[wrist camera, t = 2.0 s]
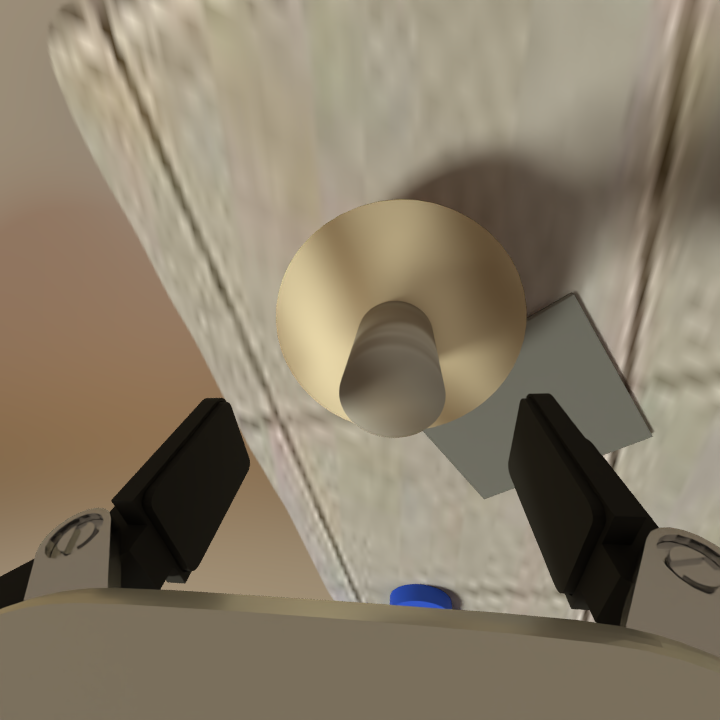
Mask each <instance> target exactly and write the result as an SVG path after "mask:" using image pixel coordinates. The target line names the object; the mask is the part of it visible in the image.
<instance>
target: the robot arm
mask: <svg viewBox="0 0 720 720" xmlns="http://www.w3.org/2000/svg"><path fill="white" fill-rule="evenodd" d="M249 466H250V460H249V456H248V453H247V451H246V448H245V445H244V442H243V439H242V436H241V433H240V430H239V427H238V424H237V421H236V419H235V416H234V413H233V410H232V407H231V405H230V403H228V402H226V400H225V399H223V398H206V399H204V400H203V401H202V402H201V403H200V404H199V405H198V406H197V407H196V408H195V409H194V411H193V412H192V413H191V414H190V415H189V416H188V417H187V418H186V419H185V420H184V421H183V423H181V425H180V426H179V427H178V428H177V429H176V430H175V431H174V432H173V433H172V434H171V436H170V437H169V438H168V439H167V440H166V441H165V442H164V443H163V444H162V445H161V447H160V448H159V449H158V450H157V451H156V452H155V453H154V454H153V455H152V456H151V457H150V459H149V460H148V461H147V462H146V463H145V464H144V465H143V466H142V467H141V468H140V470H139V471H138V472H137V473H136V474H135V475H134V476H133V477H132V478H131V479H130V480H129V481H128V483H127V484H126V485H125V486H124V487H123V488H122V489H121V490H120V491H119V492H118V494H117V495H116V496H115V497H114V498H113V499H112V503H113V504H114V505H115V507H114V508H113V509H112V510H111V511H110V512H109V511H108V510H106V509H104V508H94V509H89V510H86V511H83V512H80V513H78V514H76V515H74V516H72V517H70V518H68V519H67V520H65V521H64V522H63V523H61V524H60V525H58V526H57V527H56V528H55V529H54V530H52V531H51V532H50V533H49V534H48V535H47V536H46V538H45V539H44V540H43V541H42V543H41V544H40V546H39V548H38V550H37V552H36V555H35V559H33V560H31V561H29V562H27V563H25V564H23V565H21V566H20V567H18V568H16V569H14V570H12V571H10V572H8V573H6V574H4V575H3V576H1V577H0V720H720V548H719V547H718V546H716V545H715V544H713V543H711V542H709V541H707V540H706V539H704V538H702V537H700V536H698V535H695V534H693V533H690V532H687V531H685V530H680V529H675V528H670V527H668V528H659V527H658V526H657V525H656V523H655V522H654V521H653V519H652V518H651V517H650V516H649V514H648V513H647V512H646V511H645V509H644V508H643V507H642V505H641V504H640V503H639V502H638V500H637V499H636V498H635V497H634V495H633V494H632V493H631V491H630V490H629V489H628V488H627V486H626V485H625V484H624V483H623V481H622V480H621V479H620V477H619V476H618V475H617V474H616V472H615V471H614V470H613V469H612V467H611V466H610V465H609V464H608V462H607V461H606V460H605V458H604V457H603V456H602V455H601V453H600V452H599V451H598V450H597V448H596V447H595V446H594V444H593V443H592V442H591V441H590V440H588V439H586V438H585V437H584V436H583V434H582V433H581V432H580V430H579V429H578V428H577V427H576V425H575V424H574V423H573V421H572V420H571V419H570V417H569V416H568V415H567V414H566V412H565V411H564V410H563V408H562V407H561V406H560V405H559V403H558V402H557V401H556V399H555V398H554V397H553V396H552V395H551V394H549V393H535V394H528V395H527V396H526V398H523V399H521V400H520V404H519V409H518V414H517V419H516V424H515V430H514V435H513V440H512V445H511V450H510V455H509V461H508V470H509V474H510V477H511V479H512V482H513V484H514V487H515V489H516V491H517V494H518V496H519V499H520V501H521V504H522V506H523V509H524V511H525V514H526V516H527V518H528V521H529V523H530V526H531V528H532V531H533V533H534V536H535V538H536V541H537V543H538V545H539V548H540V550H541V553H542V555H543V558H544V560H545V563H546V565H547V568H548V570H549V572H550V575H551V577H552V580H553V582H554V585H555V587H556V589H557V590H558V592H560V593H565V595H566V597H567V600H568V602H569V605H570V607H571V609H581V610H590V611H591V614H592V616H593V618H594V620H595V622H597V623H594V622H587V621H580V620H570V619H559V618H549V617H538V616H527V615H516V614H506V613H494V612H480V611H467V610H453V609H440V608H427V607H413V606H400V605H386V604H372V603H358V602H343V601H329V600H315V599H300V598H285V597H270V596H255V595H238V594H224V593H208V592H192V591H175V590H161V587H162V585H163V584H164V582H165V580H166V581H167V582H171V583H186V581H187V579H188V577H189V575H190V573H191V572H192V571H194V570H195V569H196V568H197V567H198V566H199V564H200V562H201V560H202V558H203V557H204V555H205V553H206V551H207V549H208V547H209V545H210V543H211V541H212V539H213V537H214V536H215V534H216V532H217V530H218V528H219V526H220V524H221V522H222V520H223V518H224V516H225V514H226V512H227V511H228V509H229V507H230V505H231V503H232V501H233V499H234V497H235V495H236V493H237V491H238V489H239V488H240V485H241V484H242V482H243V480H244V478H245V476H246V474H247V472H248V470H249Z"/></svg>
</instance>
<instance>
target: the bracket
mask: <svg viewBox="0 0 720 720" xmlns="http://www.w3.org/2000/svg"><path fill="white" fill-rule="evenodd" d="M390 605H400V606H413V607H427V608H440V609H452V603H451V599H450V597H449V596H448V595H447V594H446V593H445V592H443V591H442V590H440V589H437V588H435V587H432V586H428V585H421V584H410V585H404V586H400V587H398V588H396V589H395V590H393V591H392V593H391V595H390Z"/></svg>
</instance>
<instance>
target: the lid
mask: <svg viewBox="0 0 720 720" xmlns="http://www.w3.org/2000/svg"><path fill="white" fill-rule="evenodd" d="M526 313H527V307H526V300H525V294H524V289H523V286H522V283H521V279H520V276H519V274H518V272H517V270H516V268H515V266H514V264H513V262H512V260H511V258H510V256H509V255H508V254H507V252H506V251H505V250H504V248H503V247H502V245H501V244H500V243H499V242H498V241H497V240H496V239H495V238H494V237H493V236H492V235H491V234H490V233H489V232H488V231H487V230H486V229H484V228H483V227H482V226H480V225H479V224H478V223H476V222H475V221H473V220H472V219H470V218H468V217H466V216H464V215H462V214H461V213H459V212H457V211H455V210H452V209H450V208H447V207H444V206H441V205H438V204H435V203H431V202H425V201H419V200H406V199H395V200H386V201H378V202H375V203H371V204H367V205H363V206H360V207H358V208H355V209H353V210H351V211H348V212H346V213H344V214H341V215H339V216H338V217H336V218H335V219H333V220H331V221H330V222H328V223H326V224H325V225H324V226H322V227H321V228H320V229H319V230H318V231H316V232H315V233H314V234H313V235H312V236H311V237H310V238H309V239H308V240H307V241H306V242H305V243H304V244H303V245H302V247H301V248H300V249H299V250H298V252H297V253H296V255H295V256H294V258H293V259H292V261H291V262H290V264H289V266H288V269H287V271H286V273H285V275H284V277H283V280H282V283H281V287H280V290H279V294H278V300H277V306H276V325H277V334H278V339H279V343H280V347H281V350H282V353H283V355H284V358H285V360H286V363H287V365H288V366H289V368H290V370H291V372H292V374H293V375H294V377H295V378H296V379H297V381H298V382H299V384H300V385H301V386H302V387H303V388H304V390H305V391H306V392H307V393H308V394H309V395H310V396H311V397H312V398H313V399H315V400H316V401H317V402H318V403H319V404H320V405H322V406H323V407H325V408H326V409H328V410H329V411H330V412H332V413H334V414H336V415H338V416H339V417H341V418H343V419H346V420H348V421H350V422H353V423H354V424H356V425H357V426H358V427H360V428H361V429H363V430H365V431H367V432H369V433H371V434H374V435H377V436H382V437H389V438H399V437H407V436H411V435H414V434H417V433H419V432H421V431H423V430H425V429H427V428H432V427H436V426H439V425H442V424H446V423H448V422H451V421H453V420H455V419H458V418H460V417H462V416H464V415H465V414H467V413H469V412H471V411H472V410H474V409H475V408H477V407H478V406H479V405H481V404H482V403H483V402H485V401H486V400H487V399H488V398H489V397H490V396H491V395H492V394H493V393H494V392H495V391H496V390H497V389H498V388H499V387H500V385H501V384H502V383H503V382H504V381H505V379H506V378H507V376H508V375H509V373H510V371H511V370H512V368H513V366H514V364H515V362H516V360H517V358H518V356H519V354H520V350H521V347H522V344H523V341H524V336H525V329H526Z"/></svg>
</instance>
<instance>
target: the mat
mask: <svg viewBox="0 0 720 720" xmlns="http://www.w3.org/2000/svg"><path fill="white" fill-rule="evenodd" d="M535 393H549V394H551V395H552V396H553V397H554V398H555V399H556V401H557V402H558V403H559V405H560V406H561V407H562V408H563V410H564V411H565V412H566V414H567V415H568V416H569V417H570V419H571V420H572V421H573V423H574V424H575V425H576V427H577V428H578V429H579V430H580V432H581V433H582V434H583V436H584V437H585V438H586V439H588V440H590V441H591V442H592V443H593V444H594V446H595V447H596V448H597V450H598V451H599V452H600V453H601V455H605V454H607V453H610V452H613V451H615V450H618V449H621V448H623V447H626V446H629V445H632V444H634V443H637V442H640V441H642V440H645V439H648V438H650V437H653V436H652V434H651V432H650V431H649V429H648V427H647V425H646V423H645V422H644V420H643V418H642V416H641V414H640V413H639V411H638V409H637V407H636V405H635V404H634V402H633V400H632V398H631V396H630V395H629V393H628V391H627V389H626V387H625V385H624V384H623V382H622V380H621V378H620V376H619V375H618V373H617V371H616V369H615V367H614V366H613V364H612V362H611V360H610V358H609V357H608V355H607V353H606V351H605V349H604V348H603V346H602V344H601V342H600V340H599V339H598V337H597V335H596V333H595V331H594V330H593V328H592V326H591V324H590V322H589V320H588V319H587V317H586V315H585V313H584V311H583V310H582V308H581V306H580V304H579V302H578V301H577V299H576V297H575V295H574V294H573V293H570V294H568V295H567V296H565V297H563V298H561V299H560V300H558V301H556V302H555V303H553V304H551V305H549V306H548V307H546V308H544V309H543V310H541V311H539V312H537V313H536V314H534V315H532V316H531V317H529V318H527V319H526V329H525V336H524V341H523V344H522V347H521V350H520V354H519V356H518V358H517V360H516V362H515V364H514V366H513V368H512V370H511V371H510V373H509V375H508V376H507V378H506V379H505V381H504V382H503V383H502V384H501V385H500V387H499V388H498V389H497V390H496V391H495V392H494V393H493V394H492V395H491V396H490V397H489V398H488V399H487V400H486V401H485V402H483V403H482V404H481V405H479V406H478V407H477V408H475V409H474V410H472V411H471V412H469V413H467V414H465V415H464V416H462V417H460V418H458V419H455V420H453V421H451V422H448V423H446V424H442V425H439V426H436V427H432V428H427V429H425V430H423V432H424V433H425V434H426V435H427V436H428V437H429V438H430V439H431V441H432V442H433V443H434V444H435V445H436V446H437V447H438V448H439V449H440V451H441V452H442V453H443V454H444V455H445V456H446V457H447V458H448V460H449V461H450V462H451V463H452V464H453V465H454V466H455V467H456V468H457V470H458V471H459V472H460V473H461V474H462V475H463V476H464V477H465V478H466V480H467V481H468V482H469V483H470V484H471V485H472V486H473V487H474V489H475V490H476V491H477V492H478V493H479V494H480V495H481V496H482V497H483V499H486V498H489V497H492V496H494V495H497V494H500V493H502V492H505V491H508V490H511V489H513V488H515V487H514V484H513V482H512V479H511V477H510V474H509V470H508V461H509V455H510V450H511V445H512V440H513V435H514V430H515V424H516V419H517V414H518V409H519V404H520V400H521V399H523V398H526V396H527V395H528V394H535Z"/></svg>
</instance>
